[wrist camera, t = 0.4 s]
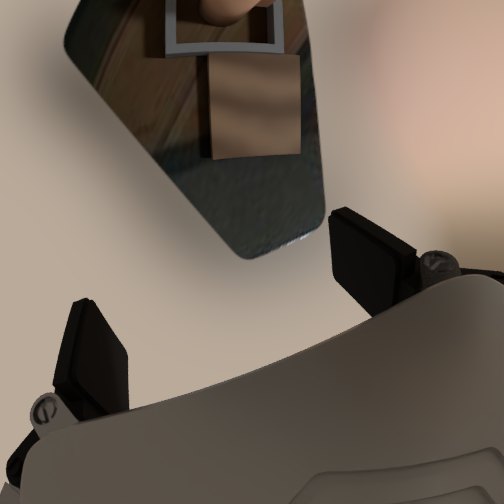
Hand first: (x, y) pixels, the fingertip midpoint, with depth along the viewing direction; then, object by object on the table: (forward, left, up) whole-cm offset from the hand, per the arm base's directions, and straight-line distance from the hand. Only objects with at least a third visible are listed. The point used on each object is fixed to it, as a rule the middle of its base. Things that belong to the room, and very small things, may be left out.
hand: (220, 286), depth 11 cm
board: (-7, +11, -29) cm, 32 cm away
